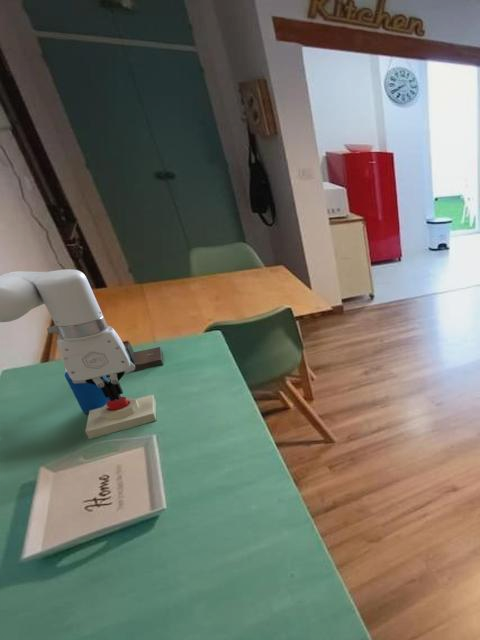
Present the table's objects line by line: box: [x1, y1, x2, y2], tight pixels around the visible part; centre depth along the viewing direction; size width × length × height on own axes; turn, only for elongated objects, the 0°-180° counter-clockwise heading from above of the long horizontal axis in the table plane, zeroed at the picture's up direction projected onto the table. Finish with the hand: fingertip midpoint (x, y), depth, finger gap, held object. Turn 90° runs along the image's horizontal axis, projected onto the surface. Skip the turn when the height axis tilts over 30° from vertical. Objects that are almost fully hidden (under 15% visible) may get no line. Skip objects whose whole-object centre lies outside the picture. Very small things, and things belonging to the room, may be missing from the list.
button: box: [106, 396, 129, 411], centre depth 99 cm, size 4×4×2 cm
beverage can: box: [64, 368, 110, 414], centre depth 102 cm, size 6×6×12 cm
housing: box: [84, 394, 157, 440], centre depth 100 cm, size 12×10×4 cm
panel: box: [106, 346, 164, 378], centre depth 124 cm, size 14×10×2 cm
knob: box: [121, 340, 135, 362], centre depth 122 cm, size 6×2×5 cm, turn 37°
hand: (115, 397), depth 98 cm, fingers closed
